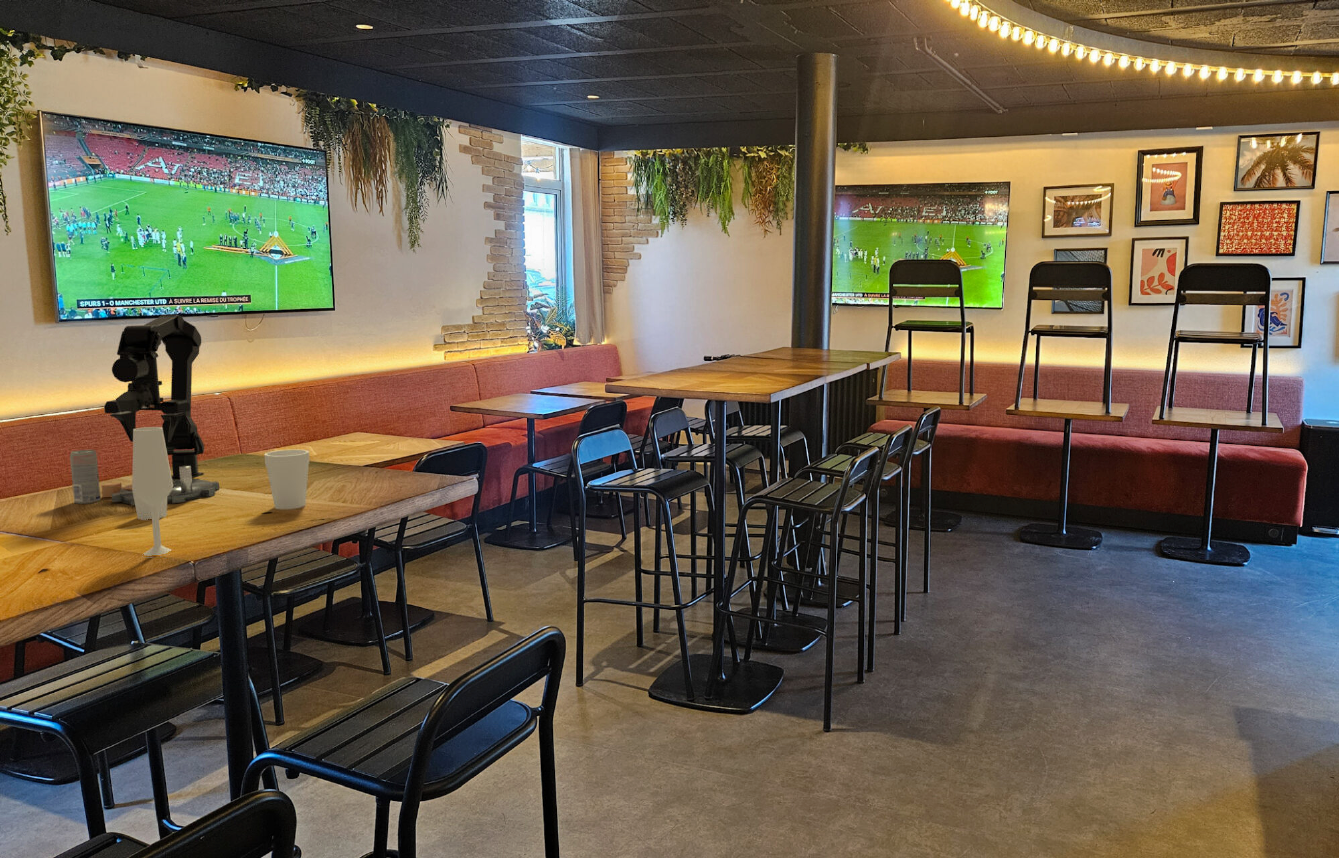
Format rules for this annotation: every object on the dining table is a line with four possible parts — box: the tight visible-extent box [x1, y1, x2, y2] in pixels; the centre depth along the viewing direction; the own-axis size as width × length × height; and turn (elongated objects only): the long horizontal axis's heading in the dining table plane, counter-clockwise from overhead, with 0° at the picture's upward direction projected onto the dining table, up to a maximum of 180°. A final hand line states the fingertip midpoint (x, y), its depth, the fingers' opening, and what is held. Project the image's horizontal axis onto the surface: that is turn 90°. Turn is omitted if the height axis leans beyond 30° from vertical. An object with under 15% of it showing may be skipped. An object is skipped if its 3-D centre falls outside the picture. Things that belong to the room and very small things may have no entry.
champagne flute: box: [131, 426, 173, 556], centre depth 179 cm, size 7×7×24 cm
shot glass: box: [132, 490, 168, 521], centre depth 211 cm, size 7×7×7 cm
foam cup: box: [264, 448, 310, 510], centre depth 218 cm, size 10×9×13 cm
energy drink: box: [69, 449, 102, 505], centre depth 228 cm, size 5×5×12 cm
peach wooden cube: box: [100, 482, 123, 498], centre depth 234 cm, size 3×3×3 cm
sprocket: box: [111, 466, 220, 506], centre depth 232 cm, size 23×23×8 cm
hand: (150, 441), depth 236 cm, fingers open, 9 cm apart
